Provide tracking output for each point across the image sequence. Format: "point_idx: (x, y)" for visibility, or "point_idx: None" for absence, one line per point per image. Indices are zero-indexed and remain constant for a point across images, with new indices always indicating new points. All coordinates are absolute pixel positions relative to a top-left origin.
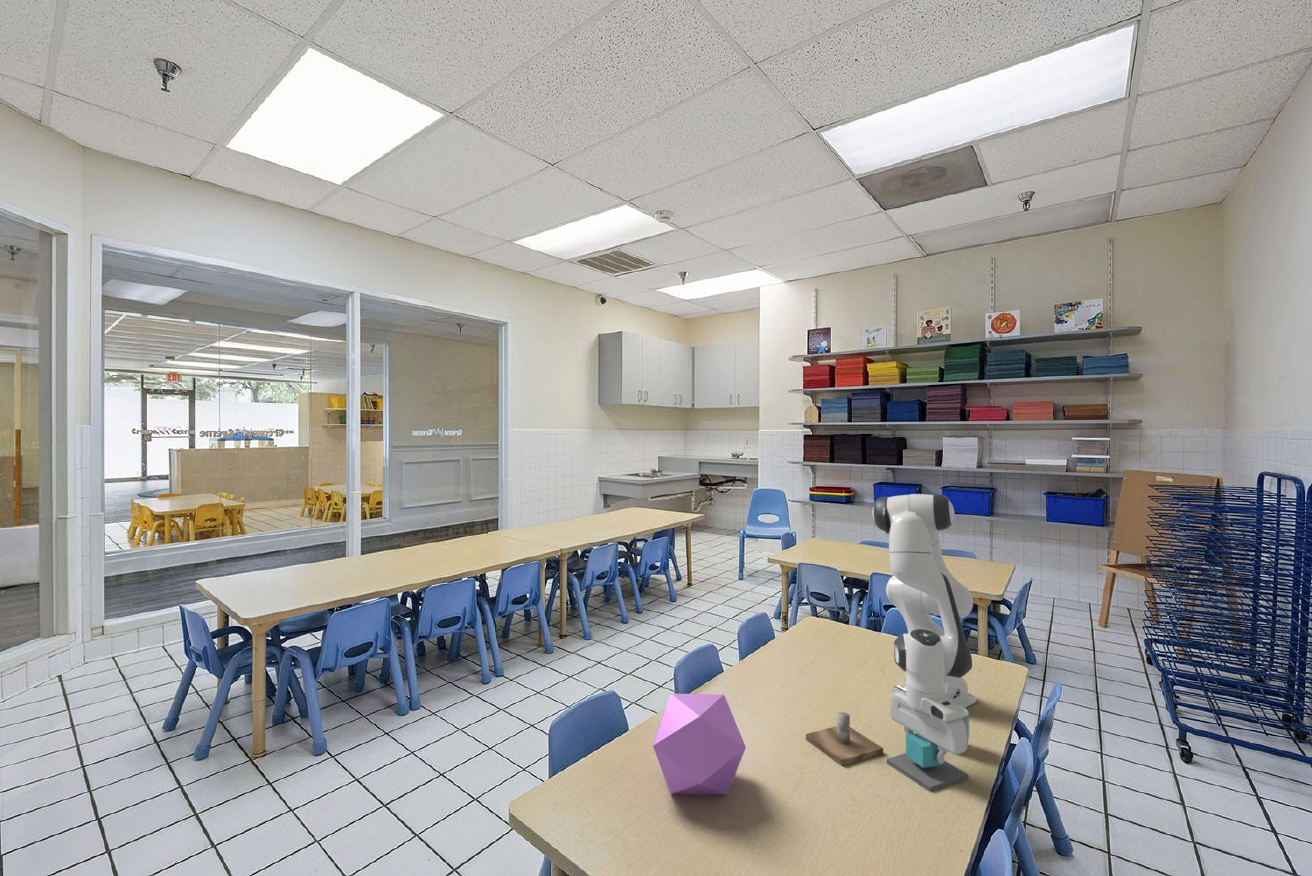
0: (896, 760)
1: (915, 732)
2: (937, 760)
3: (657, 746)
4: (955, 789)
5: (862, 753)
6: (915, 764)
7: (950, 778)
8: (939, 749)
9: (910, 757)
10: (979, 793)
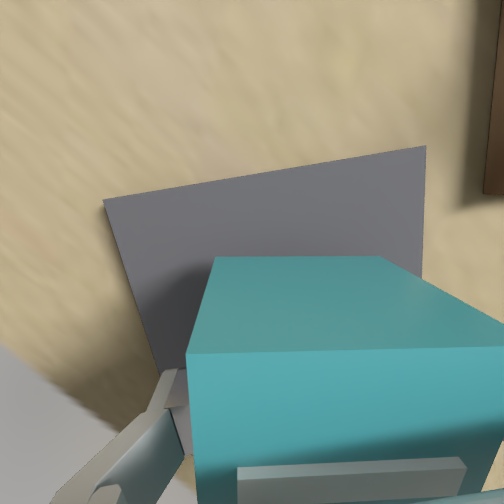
0: (386, 196)
1: (493, 491)
2: (176, 373)
3: None
4: (118, 327)
5: None
6: None
7: (163, 354)
8: (95, 491)
9: (337, 257)
10: (79, 396)
